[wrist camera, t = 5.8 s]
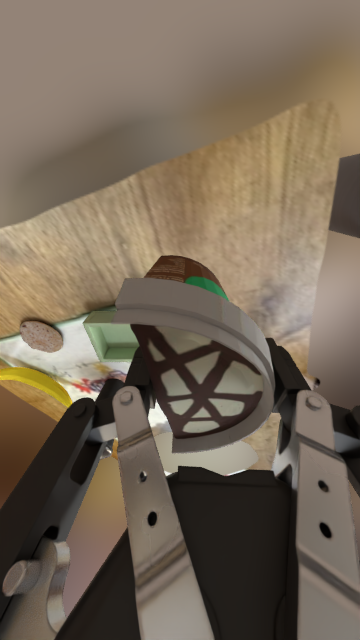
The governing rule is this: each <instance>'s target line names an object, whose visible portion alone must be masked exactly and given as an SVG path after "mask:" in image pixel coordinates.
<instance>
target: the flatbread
mask: <svg viewBox="0 0 360 640" xmlns="http://www.w3.org/2000/svg"><path fill="white" fill-rule="evenodd" d="M20 335H21V337H22V339H23V340H24V341H25V342H26V343H27V344H28V345H29V346H30V347H31V348H33V349H38V350H41V351H44V352H48V353H52V352H56V351H58V350H60V349H61V347H62V345H63V340H62V337H61V335H60V334H59V333H58V332H57V331H56V330H55V329H53V328H52V327H50V326H48V325H46V324H44V323H41V322H38V321H25V322H23V323H22V324H21V326H20Z"/></svg>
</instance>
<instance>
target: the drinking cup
mask: <svg viewBox="0 0 360 640" xmlns="http://www.w3.org/2000/svg"><path fill="white" fill-rule="evenodd" d="M123 385H124V383H123V382H122V381H120V380H118V379H109V380H107V381H106V382H105V384H104V386H103V388H102V390H101V392H100V393H99V395H98V397H97V399H96V401H95V402H97V401H100V400H103V399H107V398H110V397H112V396H114V395H115V394H116V393H117V391H119V390H120V389H121V388H122V387H123ZM113 442H114V439H111V440H108V442H107V444H106V446H105V449H104V451H103V454H102V456H101V458H100V460H101V459H103V458H107V457H109V456H111V455H112V453H113V449H112V446H113Z"/></svg>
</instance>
